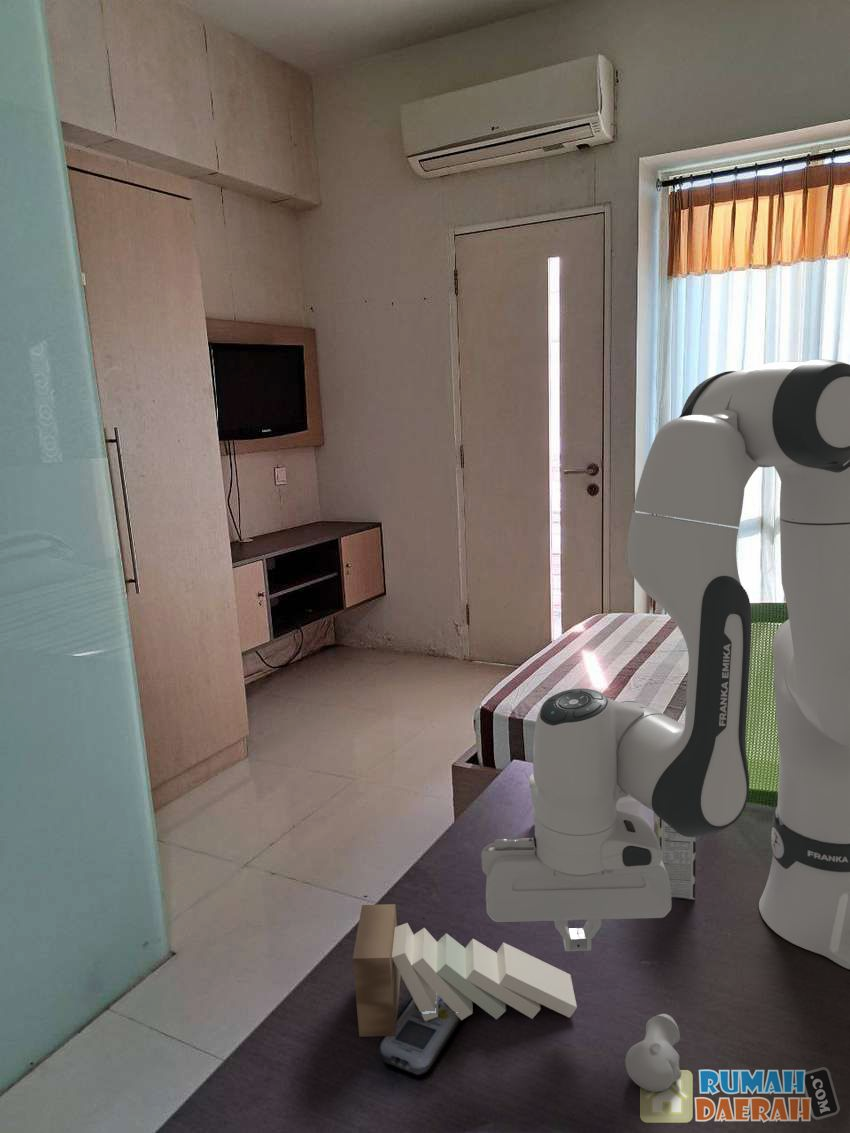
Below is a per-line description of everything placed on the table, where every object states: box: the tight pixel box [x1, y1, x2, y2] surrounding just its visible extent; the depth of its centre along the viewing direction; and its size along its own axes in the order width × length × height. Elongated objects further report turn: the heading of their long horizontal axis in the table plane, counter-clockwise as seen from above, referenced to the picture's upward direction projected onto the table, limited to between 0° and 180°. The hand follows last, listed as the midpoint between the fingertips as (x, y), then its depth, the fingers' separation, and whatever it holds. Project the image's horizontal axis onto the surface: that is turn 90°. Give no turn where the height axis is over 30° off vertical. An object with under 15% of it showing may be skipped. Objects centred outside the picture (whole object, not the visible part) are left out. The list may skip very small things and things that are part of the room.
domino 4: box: [465, 938, 541, 1020], centre depth 89 cm, size 2×5×9 cm
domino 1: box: [392, 922, 439, 1022], centre depth 89 cm, size 2×5×9 cm, turn 178°
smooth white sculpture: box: [625, 1013, 682, 1093], centre depth 80 cm, size 4×8×5 cm
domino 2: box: [412, 927, 474, 1021], centre depth 89 cm, size 2×5×9 cm
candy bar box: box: [653, 812, 697, 901], centre depth 109 cm, size 11×5×16 cm, turn 168°
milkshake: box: [524, 772, 538, 825], centre depth 125 cm, size 4×5×10 cm
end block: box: [352, 903, 402, 1038], centre depth 89 cm, size 4×9×10 cm, turn 178°
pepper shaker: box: [616, 795, 643, 817], centre depth 122 cm, size 4×4×10 cm
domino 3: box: [436, 932, 507, 1020], centre depth 89 cm, size 2×5×9 cm
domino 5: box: [496, 942, 578, 1018], centre depth 89 cm, size 2×5×9 cm
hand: (577, 947), depth 88 cm, fingers closed
